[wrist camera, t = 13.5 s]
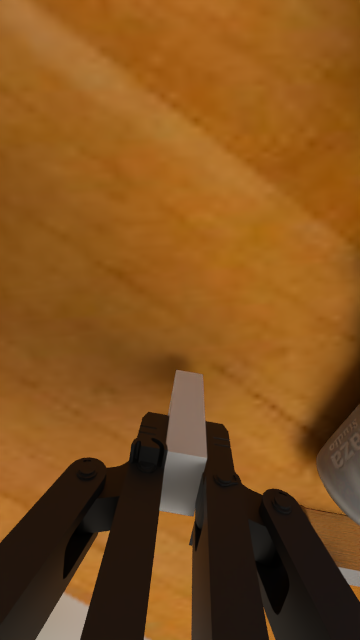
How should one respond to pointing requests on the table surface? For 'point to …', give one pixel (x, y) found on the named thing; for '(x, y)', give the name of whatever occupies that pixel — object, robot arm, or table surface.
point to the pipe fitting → (343, 466)
